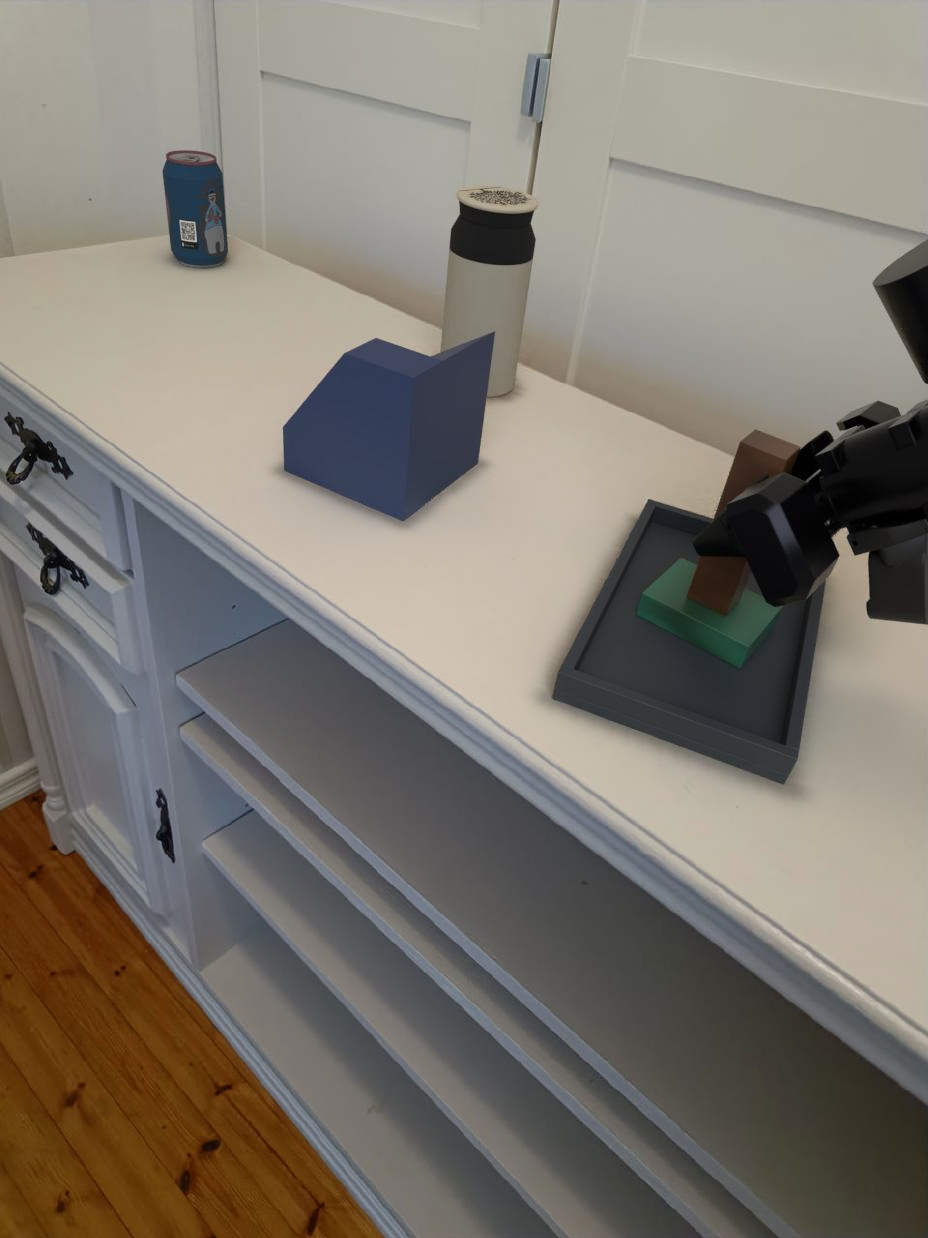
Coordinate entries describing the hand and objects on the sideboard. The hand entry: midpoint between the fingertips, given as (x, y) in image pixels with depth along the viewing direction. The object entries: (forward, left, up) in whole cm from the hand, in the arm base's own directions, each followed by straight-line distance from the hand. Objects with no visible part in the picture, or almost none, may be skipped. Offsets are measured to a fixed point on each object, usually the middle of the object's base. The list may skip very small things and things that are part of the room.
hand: (714, 533), depth 56 cm
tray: (-1, +1, -8) cm, 8 cm away
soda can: (+30, -77, -8) cm, 83 cm away
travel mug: (+4, -40, -8) cm, 40 cm away
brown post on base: (-1, +1, -7) cm, 7 cm away
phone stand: (+17, -24, -8) cm, 30 cm away
